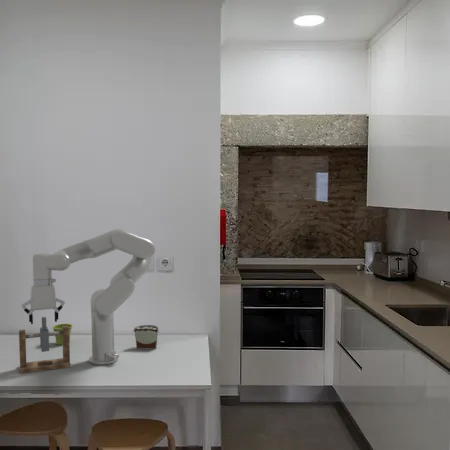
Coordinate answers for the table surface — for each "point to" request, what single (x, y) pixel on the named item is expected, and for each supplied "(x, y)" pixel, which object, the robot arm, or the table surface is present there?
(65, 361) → the rack
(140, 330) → the food container
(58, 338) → the plant pot
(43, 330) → the stepped gray bar
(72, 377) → the table surface
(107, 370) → the table surface
